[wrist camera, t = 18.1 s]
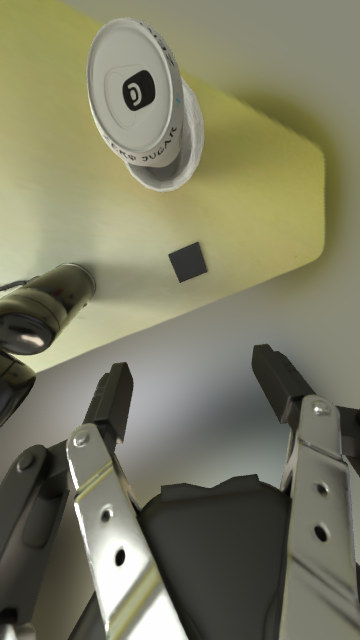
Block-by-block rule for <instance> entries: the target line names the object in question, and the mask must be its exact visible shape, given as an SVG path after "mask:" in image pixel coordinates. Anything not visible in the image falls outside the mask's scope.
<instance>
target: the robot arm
mask: <svg viewBox="0 0 360 640" xmlns="http://www.w3.org/2000/svg"><path fill="white" fill-rule="evenodd" d="M27 283H28V284H27ZM17 285H23V286H22V287H20V288H19V289H17V290H15V291H13V292H12V293H10V294H8V295H6V296H4V297H3V298H0V428H1V427H2V426H3V424H5V422H6V421H7V420H8V419H9V418H10V417H11V415H12V414H13V413H14V412H15V411H16V410H17V408H18V407H19V406H20V405H21V403H22V402H23V401H24V399H25V398H26V397H27V395H28V394H29V392H30V390H31V389H32V387H33V385H34V382H35V380H36V374H35V372H34V371H33V370H32V369H31V368H30V367H29V366H27V365H26V364H24V363H23V362H21V361H20V360H18V359H17V358H16V359H15V357H14V356H12V355H10V354H9V353H11V354H16V355H34V354H38V353H41V352H43V351H45V350H46V349H48V348H49V347H50V346H51V345H52V343H53V342H54V341H55V340H56V339H57V338H58V336H59V335H60V334H61V333H62V332H63V330H64V329H65V328H66V327H67V325H68V324H69V323H70V322H71V321H72V320H73V318H74V317H75V316H76V315H77V314H78V312H79V311H80V310H81V309H82V308H83V307H84V306H86V305H87V304H88V303H87V302H88V300H89V299H91V298H92V296H93V295H94V293H95V290H96V285H95V281H94V279H93V277H92V276H91V274H90V273H89V272H88V271H87V270H86V269H84V268H83V267H81V266H79V265H76V264H72V263H65V264H61V265H59V266H58V267H56V268H55V269H53V270H51V271H49V272H48V273H46V274H44V275H42V276H36V277H34V278H32V279H30V280H28V281H26V282H25V281H17V282H14V283H11V284H8V285H5V286H2V287H0V291H3V290H6V289H9V288H12V287H14V286H17ZM86 303H87V304H86ZM85 304H86V305H85ZM252 369H253V372H254V374H255V376H256V378H257V380H258V382H259V384H260V385H261V387H262V389H263V391H264V393H265V395H266V397H267V399H268V401H269V403H270V405H271V407H272V408H273V410H274V412H275V414H276V416H277V418H278V420H279V422H280V424H285V423H288V424H289V426H290V427H291V431H290V436H289V443H288V449H287V456H286V462H285V467H284V472H283V475H282V479H281V484H280V490H279V489H277V488H276V487H273V486H272V485H270V484H267V483H264V482H261V481H259V478H258V476H257V474H253V475H246V476H237V477H233V478H230V479H228V480H226V481H224V482H222V483H220V484H219V485H217V486H215V487H213V488H205V487H201V486H196V485H191V484H187V483H181V484H173V485H165V486H161V493H160V494H158V495H157V496H156V497H154V498H152V499H151V500H150V501H149V502H148V503H147V504H146V505H145V506H144V507H143V508H142V507H141V505H140V503H139V501H138V499H137V497H136V495H135V493H134V491H133V490H132V488H131V486H130V484H129V482H128V480H127V478H126V476H125V474H124V472H123V470H122V467H121V466H120V463H119V461H118V459H117V457H116V455H115V453H114V451H115V447H116V444H121V443H123V441H124V435H125V430H126V424H127V419H128V413H129V407H130V402H131V397H132V392H133V378H132V375H131V373H130V370H129V367H128V365H127V363H126V362H122V363H114V364H113V365H112V368H111V371H110V373H105V374H104V375H103V377H102V378H101V379H100V380H99V383H98V385H97V388H96V391H95V393H94V397H93V398H92V401H91V403H90V406H89V408H88V411H87V414H86V416H85V419H84V421H83V423H82V425H81V426H79V427H78V428H76V430H74V431H73V432H72V434H71V435H70V436H69V438H68V439H67V440H65V441H63V442H60V443H58V444H56V445H54V446H52V447H50V448H47V449H46V448H45V447H44V446H43V445H34V446H32V447H30V448H28V449H26V450H25V451H23V453H21V454H20V455H19V456H18V457H17V458H16V459H15V461H14V462H13V463H12V465H11V467H10V469H9V470H8V472H7V474H6V476H5V478H4V479H3V481H2V483H1V485H0V640H36V633H35V629H34V627H33V626H32V624H30V623H31V619H32V616H33V613H34V609H35V606H36V603H37V599H38V596H39V593H40V589H41V586H42V582H43V579H44V576H45V572H46V569H47V566H48V563H49V559H50V556H51V552H52V549H53V546H54V542H55V539H56V536H57V532H58V529H59V526H60V522H61V519H62V516H63V512H64V509H65V505H66V502H67V499H68V495H69V492H70V489H71V488H73V487H75V486H76V490H77V494H76V496H75V498H74V503H75V508H76V512H77V516H78V520H79V524H80V528H81V532H82V537H83V541H84V545H85V549H86V552H87V557H88V561H89V565H90V569H91V573H92V577H93V581H94V585H95V589H96V590H95V591H94V593H93V595H92V597H91V599H90V600H89V602H88V604H87V606H86V607H85V610H84V611H83V613H82V615H81V616H80V618H79V620H78V622H77V624H76V625H75V627H74V629H73V631H72V632H71V634H70V636H69V638H68V640H360V565H359V564H358V563H356V562H355V550H354V534H353V520H352V505H351V490H350V475H349V468H348V465H347V463H346V462H344V461H343V459H342V455H345V456H346V457H347V459H348V460H349V462H350V463H351V465H352V466H353V468H354V469H355V471H356V472H357V474H358V475H359V477H360V409H359V410H358V409H352V408H346V407H340V406H336V405H334V404H333V403H332V402H331V401H329V400H328V399H326V398H324V397H322V396H319V395H317V394H316V393H315V392H314V391H313V390H312V388H311V387H310V386H309V385H308V383H307V382H306V381H305V380H304V378H303V377H302V376H301V375H300V373H299V372H298V371H297V370H296V368H295V367H294V366H293V365H292V363H291V362H290V361H289V360H288V358H287V357H286V356H285V355H283V354H281V353H280V352H279V351H275V352H274V351H273V350H272V348H271V347H270V346H269V345H268V344H262V345H255V346H254V349H253V357H252Z"/></svg>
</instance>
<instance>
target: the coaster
mask: <svg viewBox="0 0 360 640" xmlns="http://www.w3.org/2000/svg"><path fill="white" fill-rule="evenodd" d="M168 256H169V258H170V261H171V263H172V265H173V268H174V270H175V272H176V275H177V277H178V280H179V282H180V283H181V282H183V281H186V280H188V279H191V278H193V277H196V276H198V275H201V274H203V273H206V272H207V269H206V266H205V263H204V260H203V257H202V254H201V251H200V247H199V244H198V242H197V243H195V244H192V245H190V246H188V247H185V248H183V249H181V250H178V251H176V252H174V253H172V254H169V255H168Z"/></svg>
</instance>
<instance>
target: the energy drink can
mask: <svg viewBox="0 0 360 640" xmlns="http://www.w3.org/2000/svg"><path fill="white" fill-rule="evenodd" d="M86 80H87V90H88V98H89V103H90V107H91V112H92V115H93V118H94V121H95V123H96V126H97V128H98V130H99V132H100V134H101V136H102V138H103V139H104V141H105V142H106V143H107V145H108V146H109V147H110V149H111V150H112V151H113V152H114V153H115V154H116V155H118V156H119V157H120V158H122V159H123V160H124V161H127V162H129V163H131V164H134V165H139V166H148V167H164V166H167V165H169V164H170V163H171V162H172V161H173V160H174V159H175V158H176V157H177V155H178V153H179V151H180V148H181V145H182V139H183V117H184V94H183V86H182V79H181V76H180V72H179V69H178V65H177V62H176V60H175V58H174V56H173V53H172V51H171V49H170V48H169V46H168V45H167V43H166V41H165V40H164V38H163V37H162V36H161V35H160V34H159V33H158V32H157V31H156V30H155V29H154V28H153V27H152V26H150V25H149V24H147V23H146V22H144V21H142V20H138V19H135V18H116V19H114V20H112V21H110V22H107V23H106V24H105V25H104V26H103V27H102V28H101V29H100V30H99V31H98V33H97V34H96V36H95V37H94V39H93V42H92V44H91V47H90V50H89V54H88V60H87V71H86Z"/></svg>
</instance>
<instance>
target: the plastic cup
mask: <svg viewBox="0 0 360 640" xmlns="http://www.w3.org/2000/svg"><path fill="white" fill-rule="evenodd" d="M181 79H182V86H183V94H184V117H183V139H182V145H181V148H180V151H179V153H178V155H177V157H176V158H175V159H174V160H173V161H172V162H171V163H170V164H169V165H167V166H164V167H148V166H139V165H134V164H131V163H129V162H127V161H124V160H123V161H124V163H125V165H126V166H127V168H128V170H129V172H130V174H131V175H132V176H133V177H134V178H135V179H136V180H137V181H139V182H140V183H141V184H142V185H143V186H144V187H146V188H149V189H152V190H155V191H158V192H166V191H172V190H176V189H177V188H179V187H180V186H182V185H183V184H184V183H186V182H187V181H189V179H190V178H191V176H192V174H193V173H194V171H195V170H196V168H197V167H198V165H199V162H200V158H201V154H202V150H203V146H204V121H203V116H202V113H201V110H200V107H199V104H198V101H197V98H196V95H195V93H194V92H193V91H192V90H191V88H190V87H189V86H188V85H187V83H186V82H185V81H184V79H183V78H182V77H181Z"/></svg>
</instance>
